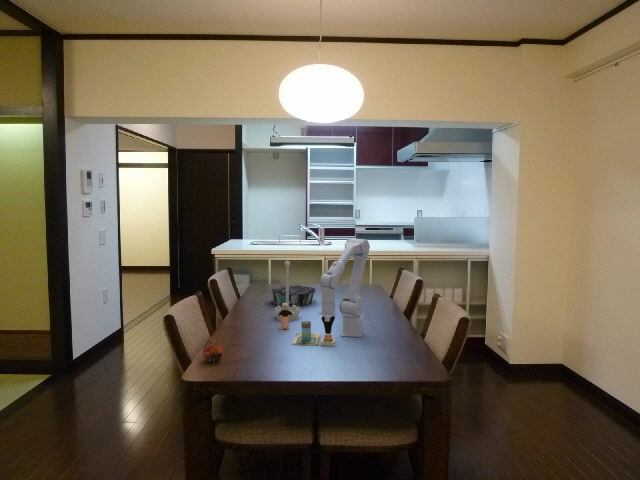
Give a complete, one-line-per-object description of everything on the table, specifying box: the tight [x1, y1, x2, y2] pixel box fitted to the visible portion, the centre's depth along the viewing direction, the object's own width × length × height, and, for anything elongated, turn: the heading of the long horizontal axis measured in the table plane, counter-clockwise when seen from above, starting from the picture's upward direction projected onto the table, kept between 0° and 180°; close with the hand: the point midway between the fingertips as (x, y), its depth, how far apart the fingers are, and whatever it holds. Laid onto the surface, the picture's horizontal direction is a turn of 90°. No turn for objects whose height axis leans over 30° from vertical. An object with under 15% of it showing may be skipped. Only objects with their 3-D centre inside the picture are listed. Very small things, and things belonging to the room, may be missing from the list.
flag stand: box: [274, 260, 301, 322], centre depth 223 cm, size 13×13×30 cm
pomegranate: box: [202, 341, 224, 366], centre depth 163 cm, size 7×7×10 cm
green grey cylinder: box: [300, 320, 312, 342], centre depth 186 cm, size 4×4×8 cm
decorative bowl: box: [270, 285, 317, 307], centre depth 256 cm, size 26×28×10 cm
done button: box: [323, 333, 333, 342], centre depth 185 cm, size 3×3×2 cm
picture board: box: [291, 332, 322, 347], centre depth 189 cm, size 11×14×1 cm
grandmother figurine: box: [276, 303, 294, 331], centre depth 205 cm, size 8×4×13 cm, turn 105°
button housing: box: [319, 336, 336, 347], centre depth 185 cm, size 6×6×2 cm
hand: (328, 333), depth 184 cm, fingers closed
